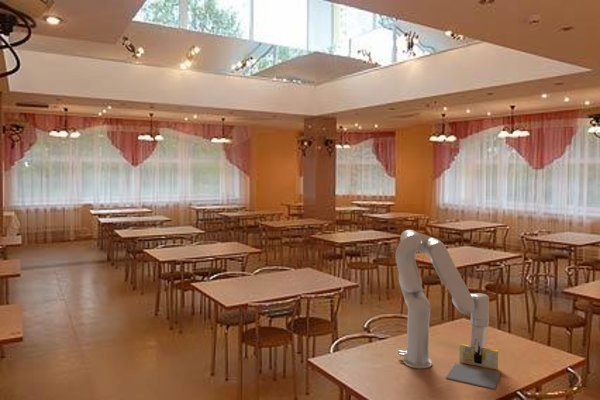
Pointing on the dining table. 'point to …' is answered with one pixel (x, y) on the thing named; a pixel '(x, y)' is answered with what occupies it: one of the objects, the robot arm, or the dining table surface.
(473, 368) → the mat
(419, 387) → the dining table surface
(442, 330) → the dining table surface
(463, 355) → the candy box
